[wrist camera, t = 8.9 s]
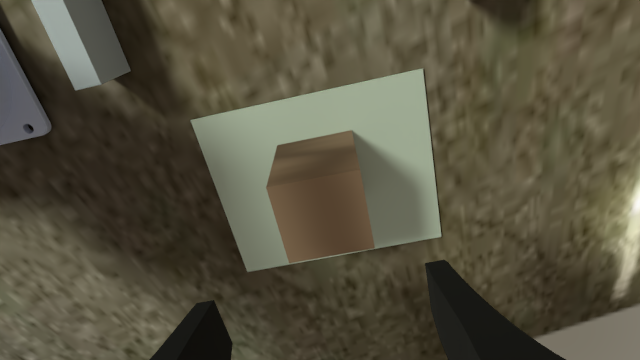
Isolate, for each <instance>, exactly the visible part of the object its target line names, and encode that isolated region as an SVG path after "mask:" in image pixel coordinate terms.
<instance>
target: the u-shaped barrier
mask: <svg viewBox="0 0 640 360" xmlns="http://www.w3.org/2000/svg"><path fill="white" fill-rule="evenodd" d="M32 3H33V5H34V7H35V9H36V11H37V13H38V15H39V17H40V19H41V21H42V23H43V25H44V27H45V29H46V31H47V33H48V35H49V37H50V40H51V42H52V44H53V46H54V48H55V50H56V52H57V54H58V56H59V58H60V60H61V62H62V64H63V66H64V68H65V70H66V72H67V74H68V76H69V79H70V81H71V83H72V85H73V87H74V89H75V91H76V90H80V89H84V88H88V87H92V86H97V85H101V84H103V83H106V82H108V81H110V80H112V79H114V78H117V77H119V76H121V75H123V74H125V73H128V72H130V71H131V70H130V67H129V65H128V63H127V60H126V58H125V55H124V53H123V51H122V48H121V46H120V43H119V41H118V39H117V36H116V34H115V31H114V29H113V27H112V24H111V22H110V19H109V17H108V15H107V12H106V10H105V8H104V5H103V3H102V0H32Z"/></svg>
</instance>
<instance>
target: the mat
mask: <svg viewBox="0 0 640 360" xmlns="http://www.w3.org/2000/svg"><path fill="white" fill-rule="evenodd" d="M190 121H191V123H192V126H193V129H194V131H195V134H196V137H197V139H198V142H199V144H200V147H201V150H202V152H203V155H204V158H205V160H206V163H207V166H208V168H209V171H210V174H211V176H212V179H213V182H214V184H215V187H216V190H217V192H218V195H219V198H220V200H221V203H222V206H223V208H224V211H225V214H226V216H227V219H228V222H229V224H230V227H231V230H232V232H233V235H234V238H235V240H236V243H237V246H238V248H239V251H240V254H241V256H242V259H243V262H244V264H245V267H246V270H247V272H251V271H256V270H262V269H267V268H273V267H278V266H284V265H289V264H295V263H300V262H306V261H311V260H317V259H322V258H317V259H311V260H306V261H300V262H294V263H289V261H288V258H287V255H286V251H285V248H284V245H283V242H282V238H281V235H280V232H279V229H278V225H277V222H276V219H275V215H274V212H273V209H272V206H271V202H270V199H269V196H268V192H267V189H266V186H267V182H268V178H269V175H270V171H271V167H272V163H273V160H274V156H275V152H276V148H277V145H281V144H286V143H291V142H296V141H301V140H306V139H310V138H315V137H320V136H325V135H330V134H335V133H340V132H345V131H350V130H352V135H353V139H354V144H355V148H356V153H357V157H358V162H359V167H360V171H361V177H362V182H363V187H364V193H365V198H366V203H367V209H368V214H369V219H370V225H371V230H372V235H373V241H374V246H375V248H374V249H377V248H382V247H388V246H393V245H399V244H404V243H410V242H415V241H421V240H426V239H432V238H437V237H441V228H440V219H439V210H438V201H437V191H436V182H435V173H434V164H433V155H432V146H431V137H430V128H429V119H428V110H427V101H426V92H425V83H424V74H423V68H422V69H418V70H413V71H409V72H404V73H400V74H395V75H391V76H386V77H382V78H377V79H373V80H368V81H364V82H359V83H355V84H350V85H346V86H341V87H337V88H332V89H328V90H323V91H319V92H314V93H310V94H305V95H301V96H296V97H292V98H287V99H283V100H278V101H274V102H269V103H265V104H260V105H256V106H251V107H247V108H242V109H238V110H233V111H229V112H224V113H220V114H215V115H211V116H206V117H202V118H197V119H193V120H190ZM368 250H371V249H368ZM362 251H366V250H362ZM357 252H360V251H357ZM351 253H355V252H351ZM345 254H349V253H345ZM340 255H344V254H340ZM334 256H338V255H334ZM328 257H333V256H328ZM328 257H323V258H328Z"/></svg>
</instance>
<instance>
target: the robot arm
mask: <svg viewBox="0 0 640 360" xmlns="http://www.w3.org/2000/svg"><path fill="white" fill-rule="evenodd" d="M28 124H30V125H31V126H32V127H33V129H34V131H32V130H30V128H29V127H28ZM50 130H51V123H50V121H49V119H48V117H47V115H46V113H45V112H44V110H43V108H42V106H41V104H40V102H39V100H38V98H37V96H36V95H35V93H34V91H33V89H32V87H31V85H30V83H29V81H28V80H27V78H26V76H25V74H24V72H23V70H22V68H21V66H20V65H19V63H18V61H17V59H16V57H15V55H14V53H13V51H12V50H11V48H10V46H9V44H8V42H7V40H6V38H5V36H4V34H3V33H2V31H1V29H0V145H3V144H7V143H12V142H16V141H21V140H25V139H29V138H34V137H38V136H43V135H45V134H47V133H49V132H50ZM425 266H426V273H427V281H428V288H429V296H430V303H431V311H432V314H433V317H434V321H435V324H436V328H437V331H438V334H439V337H440V340H441V343H442V345H443V348H444V350H445V352H446V355H447V357H448V360H566V359H564V358H562V357H560V356H559V355H557V354H555V353H554V352H552V351H551V350H549V349H548V348H546V347H545V346H543V345H541V344H540V343H538V342H537V341H536V340H534V339H533V338H531V337H530V336H528V335H527V334H526V333H524V332H523V331H522V330H520V329H519V328H518V327H516V326H515V325H514V324H512V323H511V322H510V321H509V320H507V319H506V318H505V317H504V316H502V315H501V314H500V313H499V312H498V311H496V310H495V309H494V308H493V307H492V306H491V305H489V304H488V303H487V302H486V301H485V300H484V299H483V298H482V297H481V296H480V295H479V294H477V293H476V292H475V291H474V290H473V289H472V288H471V287H470V286H469V285H468V284H467V283H466V282H465V281H464V280H463V279H462V278H461V277H460V276H459V274H458V273H457V272H456V271H455V270H454V269H453V268H452V267H451V266H450V264H449V263H448V262H447V261H445V260H441V261H435V262H429V263H425ZM231 352H232V341H231V339H230V336H229V334H228V332H227V330H226V327H225V325H224V323H223V320H222V318H221V316H220V313H219V311H218V309H217V306H216V304H215V302H214V300H213V301H207V302H201V303H197V304H196V305H195V306H194V307H193V308H192V309H191V311H190V312H189V313H188V314H187V316H186V317H185V318H184V319H183V320H182V322H181V323H180V324H179V325H178V327H177V328H176V329H175V330H174V332H173V333H172V334H171V335H170V336H169V338H168V339H167V340H166V341H165V342H164V344H163V345H162V346H161V347H160V348H159V350H158V351H157V352H156V353H155V354H154V355H153V356H152V358H151V359H150V360H231Z"/></svg>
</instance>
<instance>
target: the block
mask: <svg viewBox="0 0 640 360" xmlns="http://www.w3.org/2000/svg"><path fill="white" fill-rule="evenodd" d="M266 189H267V192H268V196H269V199H270V202H271V206H272V209H273V212H274V215H275V219H276V222H277V225H278V229H279V232H280V235H281V238H282V242H283V245H284V248H285V251H286V255H287V258H288V261H289V263H294V262H300V261H306V260H311V259H317V258H323V257H328V256H334V255H340V254H345V253H351V252H357V251H362V250H368V249H374V248H375V246H374V241H373V235H372V230H371V225H370V219H369V214H368V209H367V203H366V198H365V193H364V187H363V182H362V177H361V171H360V167H359V162H358V157H357V153H356V148H355V144H354V139H353V135H352V130H350V131H345V132H340V133H335V134H330V135H325V136H320V137H315V138H310V139H306V140H301V141H296V142H291V143H286V144H281V145H277V148H276V152H275V156H274V160H273V163H272V167H271V171H270V175H269V178H268V182H267V186H266Z"/></svg>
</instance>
